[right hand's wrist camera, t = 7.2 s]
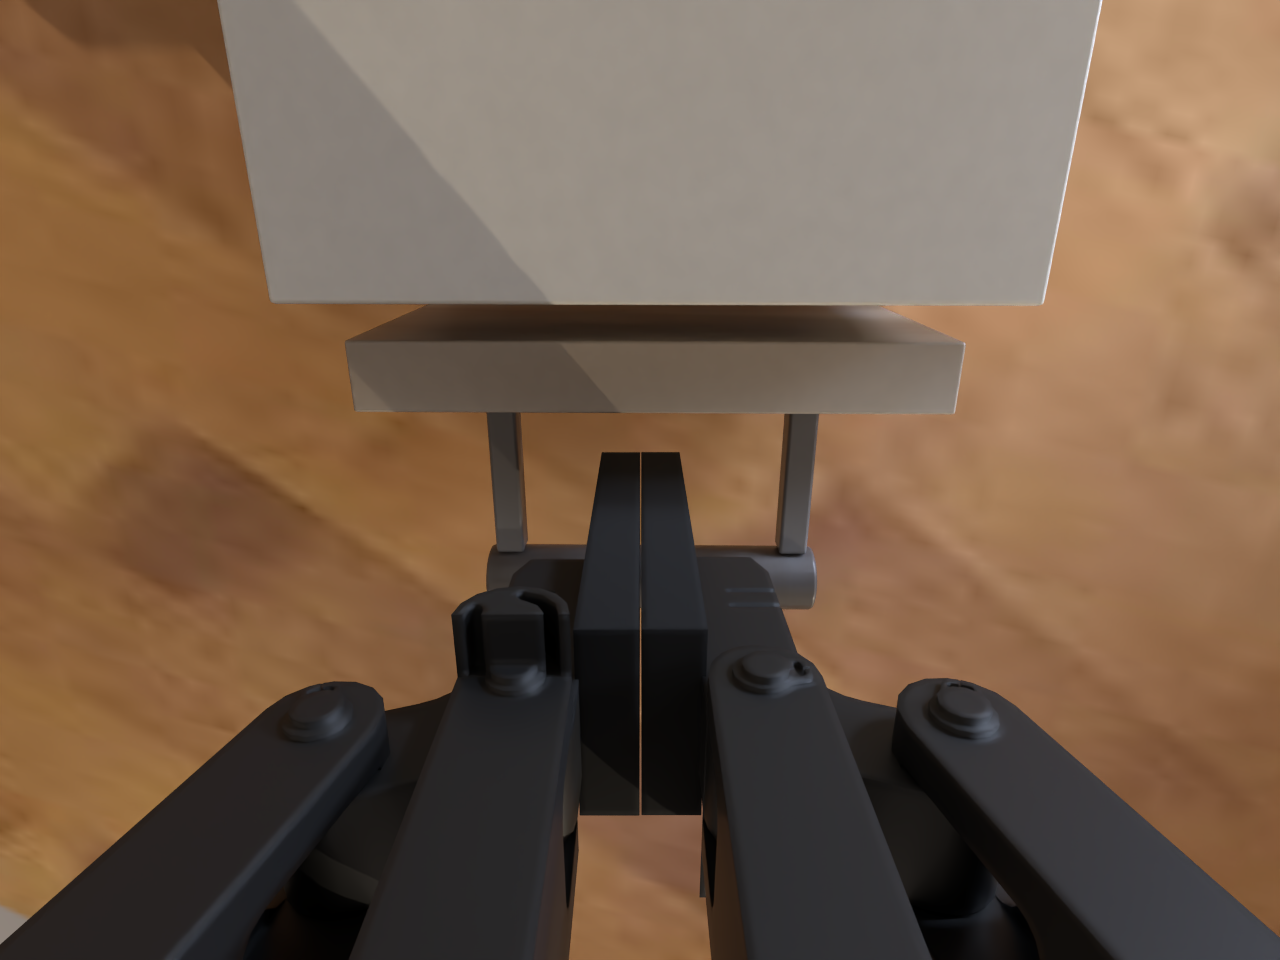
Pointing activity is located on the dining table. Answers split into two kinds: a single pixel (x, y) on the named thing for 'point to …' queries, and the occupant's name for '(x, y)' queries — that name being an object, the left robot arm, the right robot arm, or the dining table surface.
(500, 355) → the drawer
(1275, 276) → the dining table surface
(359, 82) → the white box
